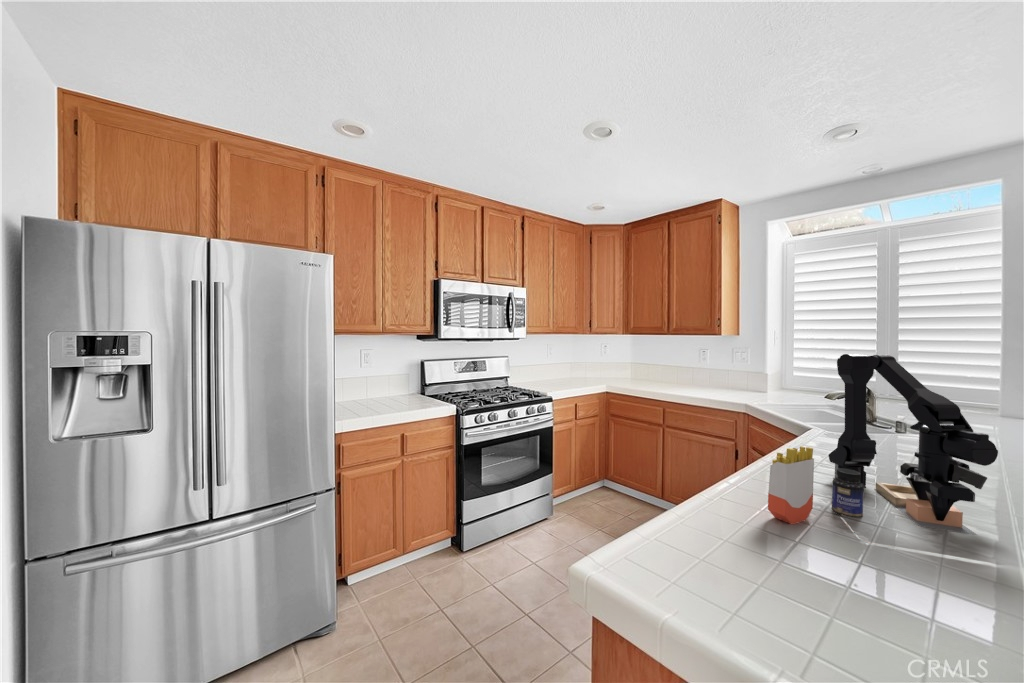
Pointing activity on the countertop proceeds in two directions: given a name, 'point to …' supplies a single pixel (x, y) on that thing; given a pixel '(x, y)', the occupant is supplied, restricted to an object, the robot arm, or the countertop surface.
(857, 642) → the countertop surface
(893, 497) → the tray
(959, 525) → the card deck block
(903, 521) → the countertop surface
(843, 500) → the pill bottle
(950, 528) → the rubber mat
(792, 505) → the french fries container
